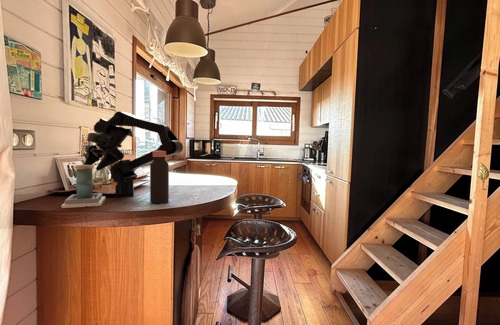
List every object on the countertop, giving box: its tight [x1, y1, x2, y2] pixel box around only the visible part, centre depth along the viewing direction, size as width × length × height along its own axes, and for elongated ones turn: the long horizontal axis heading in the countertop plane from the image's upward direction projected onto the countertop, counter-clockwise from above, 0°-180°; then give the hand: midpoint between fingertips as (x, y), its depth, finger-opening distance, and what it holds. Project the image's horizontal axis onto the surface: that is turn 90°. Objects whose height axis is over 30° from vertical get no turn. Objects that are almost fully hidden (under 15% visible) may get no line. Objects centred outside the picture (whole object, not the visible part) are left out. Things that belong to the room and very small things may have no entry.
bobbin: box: [74, 164, 95, 199], centre depth 95 cm, size 6×6×13 cm
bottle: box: [149, 150, 170, 205], centre depth 99 cm, size 7×7×20 cm
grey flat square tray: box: [61, 192, 106, 209], centre depth 95 cm, size 12×12×2 cm
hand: (90, 168), depth 99 cm, fingers open, 9 cm apart
